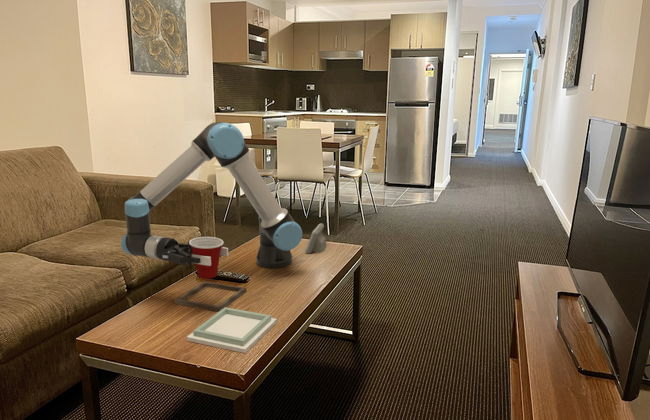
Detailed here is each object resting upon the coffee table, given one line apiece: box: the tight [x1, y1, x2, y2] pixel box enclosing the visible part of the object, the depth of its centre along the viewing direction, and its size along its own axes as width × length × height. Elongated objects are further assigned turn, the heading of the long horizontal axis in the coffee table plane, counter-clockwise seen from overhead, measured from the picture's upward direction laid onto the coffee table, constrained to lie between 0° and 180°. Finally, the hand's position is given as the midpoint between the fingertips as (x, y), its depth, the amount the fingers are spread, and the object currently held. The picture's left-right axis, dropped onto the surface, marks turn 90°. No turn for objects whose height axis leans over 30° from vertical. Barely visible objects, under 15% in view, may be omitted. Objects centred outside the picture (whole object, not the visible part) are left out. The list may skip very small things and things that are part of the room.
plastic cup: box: [188, 236, 225, 280], centre depth 148 cm, size 11×11×12 cm
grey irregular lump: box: [305, 222, 327, 254], centre depth 210 cm, size 16×9×11 cm, turn 157°
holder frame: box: [174, 280, 247, 313], centre depth 159 cm, size 17×17×2 cm
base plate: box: [186, 306, 278, 354], centre depth 136 cm, size 19×19×3 cm
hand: (219, 256), depth 146 cm, fingers closed on plastic cup, 9 cm apart
